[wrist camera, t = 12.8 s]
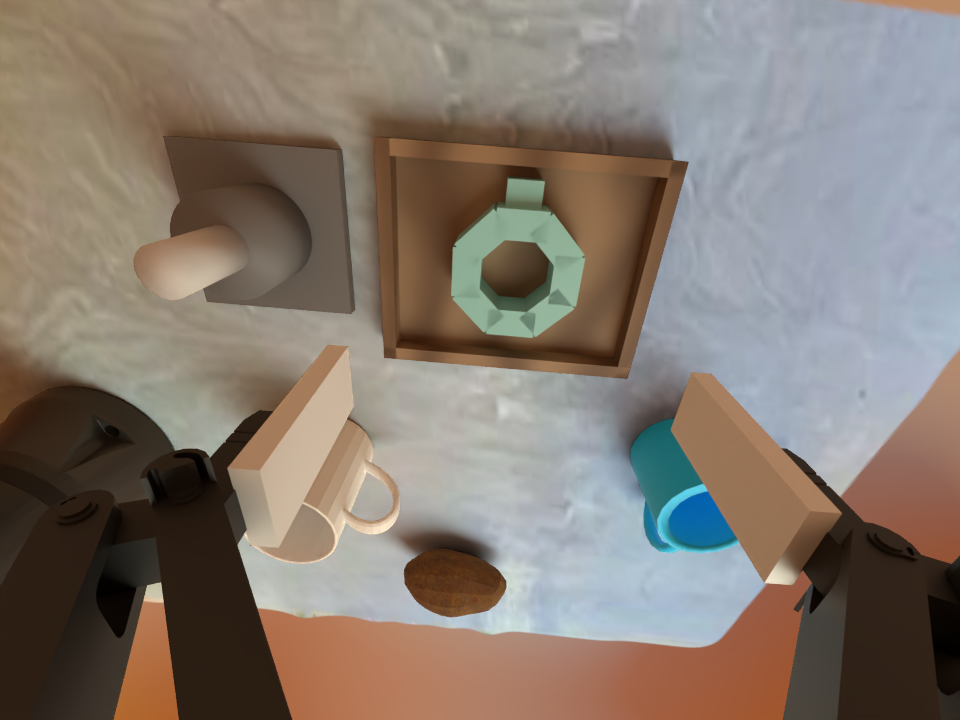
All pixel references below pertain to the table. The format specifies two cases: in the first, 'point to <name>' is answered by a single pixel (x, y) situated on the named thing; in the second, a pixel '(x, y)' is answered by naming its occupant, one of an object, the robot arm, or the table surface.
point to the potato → (453, 582)
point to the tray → (519, 251)
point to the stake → (254, 227)
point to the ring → (528, 224)
